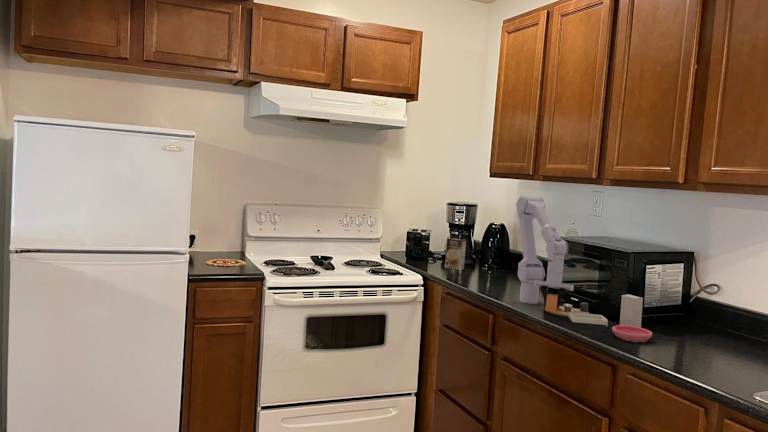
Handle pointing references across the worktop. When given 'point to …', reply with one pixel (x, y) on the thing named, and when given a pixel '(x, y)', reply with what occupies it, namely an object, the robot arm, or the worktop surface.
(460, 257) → the coffee box
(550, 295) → the block
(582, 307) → the dark grey cylinder
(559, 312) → the crank plate
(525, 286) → the robot arm
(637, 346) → the worktop surface
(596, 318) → the tray
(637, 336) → the pink bowl
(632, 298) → the skincare box
